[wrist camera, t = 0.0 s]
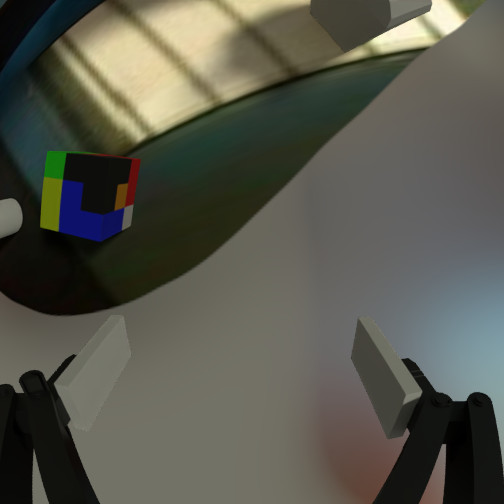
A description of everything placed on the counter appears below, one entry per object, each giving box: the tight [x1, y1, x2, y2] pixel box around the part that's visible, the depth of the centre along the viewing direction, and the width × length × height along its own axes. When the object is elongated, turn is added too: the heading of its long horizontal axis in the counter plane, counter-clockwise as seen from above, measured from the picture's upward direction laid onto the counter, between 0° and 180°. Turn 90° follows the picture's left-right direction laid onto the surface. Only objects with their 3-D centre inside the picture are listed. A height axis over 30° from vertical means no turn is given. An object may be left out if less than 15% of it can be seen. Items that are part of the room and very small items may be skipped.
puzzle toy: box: [40, 151, 141, 242], centre depth 36 cm, size 10×10×10 cm
